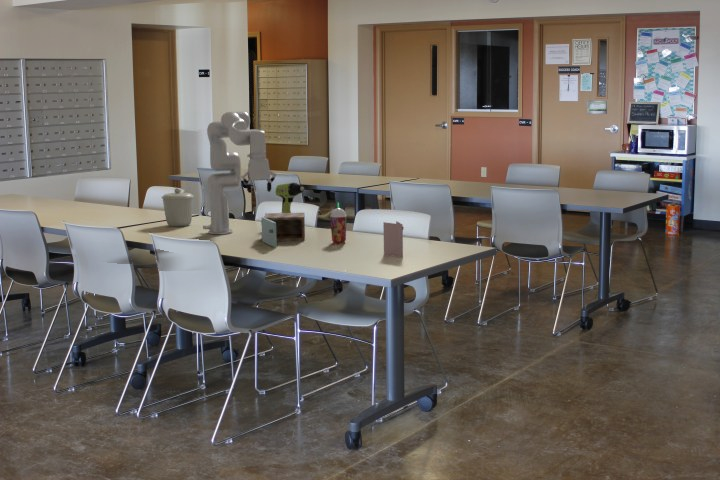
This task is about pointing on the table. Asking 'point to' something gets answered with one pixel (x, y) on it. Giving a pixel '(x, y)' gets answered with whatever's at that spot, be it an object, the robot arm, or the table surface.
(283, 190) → the cordless drill
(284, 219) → the cabinet
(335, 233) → the smoothie
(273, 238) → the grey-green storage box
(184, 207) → the canister
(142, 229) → the table surface
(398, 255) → the greeting card
